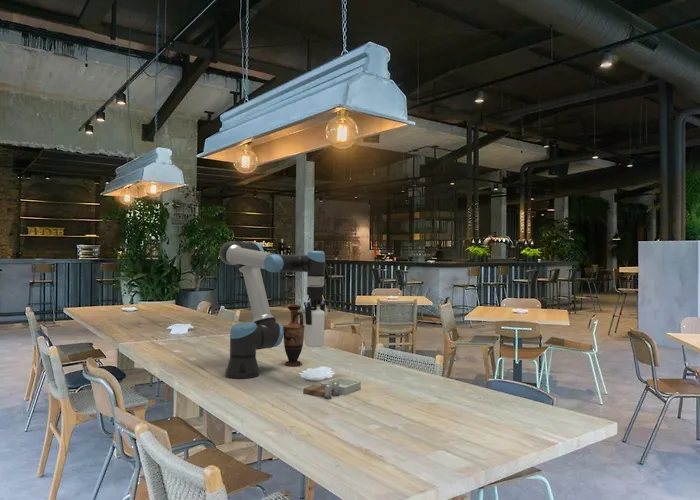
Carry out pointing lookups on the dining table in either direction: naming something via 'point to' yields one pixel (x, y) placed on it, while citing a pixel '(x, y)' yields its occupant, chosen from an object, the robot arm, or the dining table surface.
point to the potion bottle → (315, 329)
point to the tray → (344, 385)
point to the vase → (294, 336)
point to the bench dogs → (331, 390)
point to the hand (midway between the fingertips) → (314, 340)
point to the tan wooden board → (314, 390)
